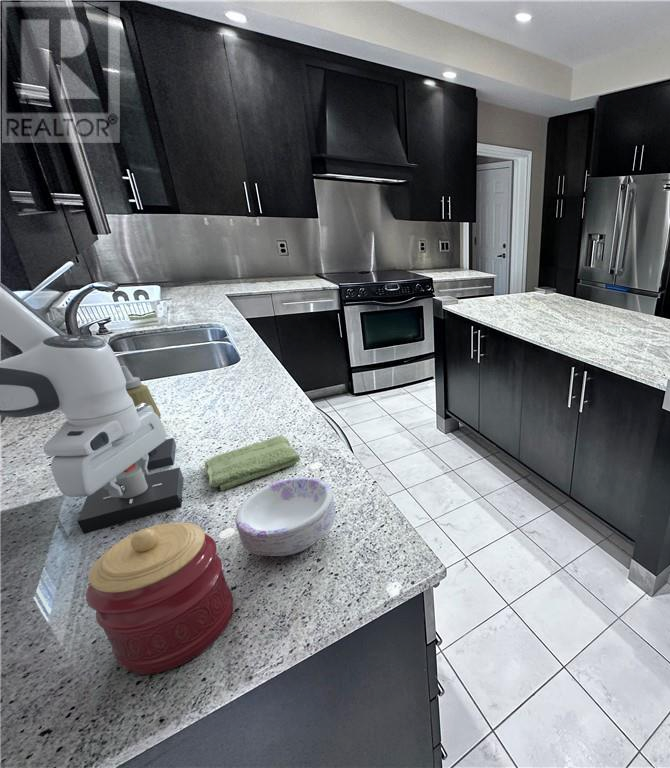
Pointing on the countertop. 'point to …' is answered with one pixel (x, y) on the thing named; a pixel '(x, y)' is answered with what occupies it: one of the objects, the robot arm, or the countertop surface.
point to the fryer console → (132, 502)
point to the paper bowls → (286, 516)
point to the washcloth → (250, 462)
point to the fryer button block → (162, 455)
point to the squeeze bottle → (138, 391)
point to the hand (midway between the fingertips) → (130, 485)
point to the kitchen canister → (160, 596)
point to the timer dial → (132, 481)
